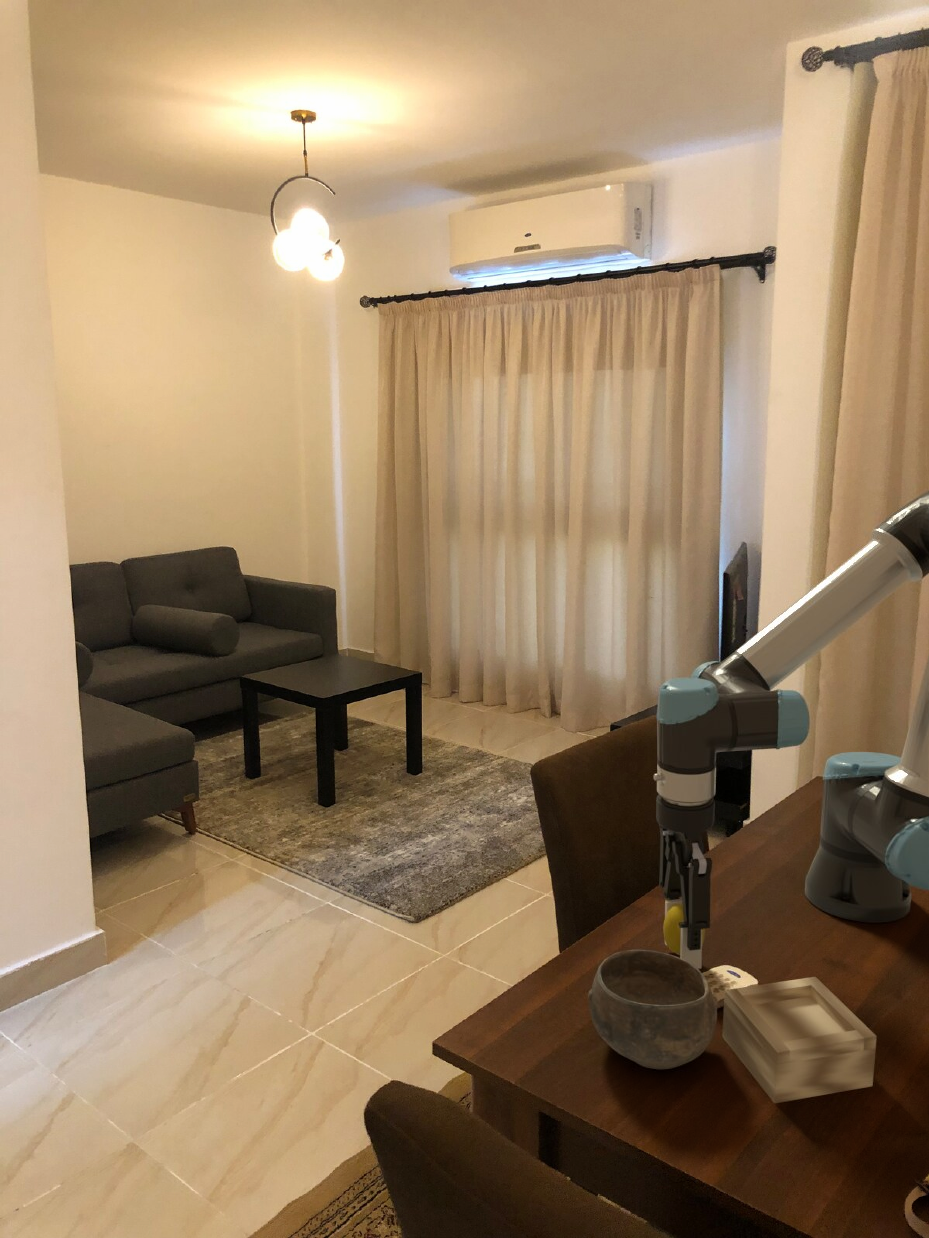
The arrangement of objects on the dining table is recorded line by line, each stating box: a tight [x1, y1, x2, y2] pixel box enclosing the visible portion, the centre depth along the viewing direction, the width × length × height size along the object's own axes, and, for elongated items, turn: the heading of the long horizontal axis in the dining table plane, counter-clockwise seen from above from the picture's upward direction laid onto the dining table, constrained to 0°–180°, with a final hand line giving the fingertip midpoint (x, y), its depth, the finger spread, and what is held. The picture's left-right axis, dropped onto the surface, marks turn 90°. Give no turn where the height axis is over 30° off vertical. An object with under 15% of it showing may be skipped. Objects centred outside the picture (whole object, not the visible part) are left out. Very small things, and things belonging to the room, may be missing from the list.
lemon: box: [662, 904, 706, 956], centre depth 133 cm, size 6×6×8 cm
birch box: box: [721, 976, 877, 1104], centre depth 112 cm, size 12×12×6 cm
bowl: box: [587, 949, 719, 1070], centre depth 114 cm, size 14×15×10 cm
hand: (682, 954), depth 133 cm, fingers closed on lemon, 5 cm apart
